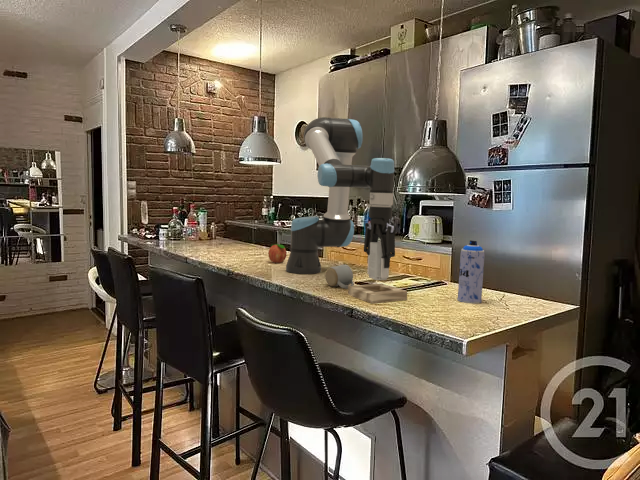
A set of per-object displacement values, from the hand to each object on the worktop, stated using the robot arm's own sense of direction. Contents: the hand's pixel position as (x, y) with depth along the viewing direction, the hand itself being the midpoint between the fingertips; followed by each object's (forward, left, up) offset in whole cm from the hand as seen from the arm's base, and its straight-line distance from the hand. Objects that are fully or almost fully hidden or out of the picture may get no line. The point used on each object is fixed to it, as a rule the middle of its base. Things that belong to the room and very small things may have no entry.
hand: (377, 275), depth 156 cm
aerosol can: (+16, +26, -7) cm, 31 cm away
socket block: (0, 0, -7) cm, 7 cm away
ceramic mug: (-19, -2, -7) cm, 21 cm away
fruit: (-78, -1, -7) cm, 78 cm away
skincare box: (0, 0, -1) cm, 1 cm away
